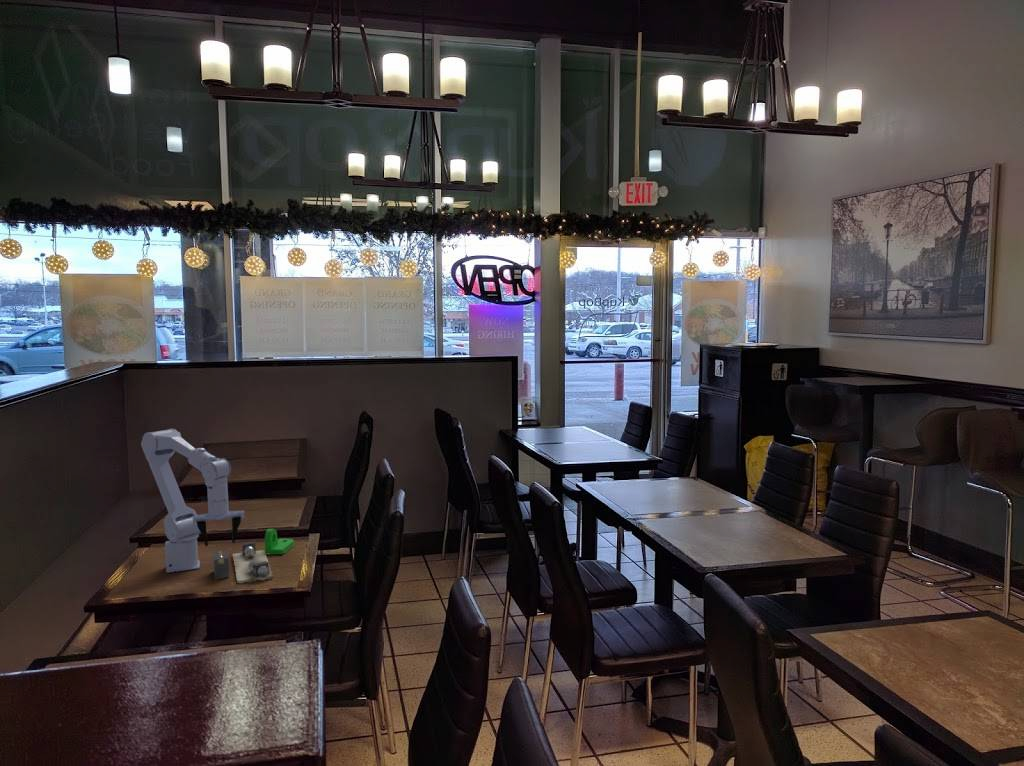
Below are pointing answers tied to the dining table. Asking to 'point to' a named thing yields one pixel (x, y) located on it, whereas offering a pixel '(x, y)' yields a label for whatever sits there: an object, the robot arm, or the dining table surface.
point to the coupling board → (243, 571)
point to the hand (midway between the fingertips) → (220, 543)
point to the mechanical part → (276, 543)
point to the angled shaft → (259, 568)
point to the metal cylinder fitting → (248, 549)
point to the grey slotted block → (221, 564)
